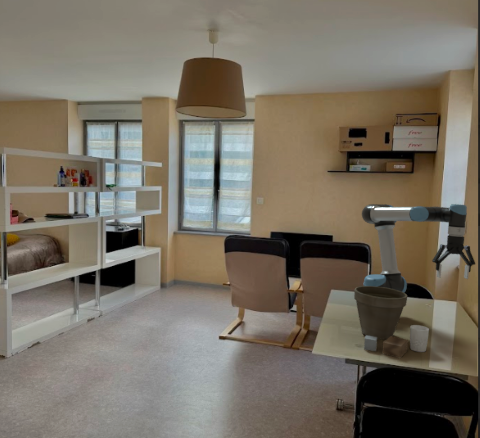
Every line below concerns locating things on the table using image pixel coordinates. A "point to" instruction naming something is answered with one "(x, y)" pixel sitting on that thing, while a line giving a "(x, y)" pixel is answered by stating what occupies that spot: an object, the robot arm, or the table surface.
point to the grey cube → (370, 343)
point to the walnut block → (395, 346)
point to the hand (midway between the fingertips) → (452, 277)
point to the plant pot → (379, 310)
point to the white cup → (418, 338)
